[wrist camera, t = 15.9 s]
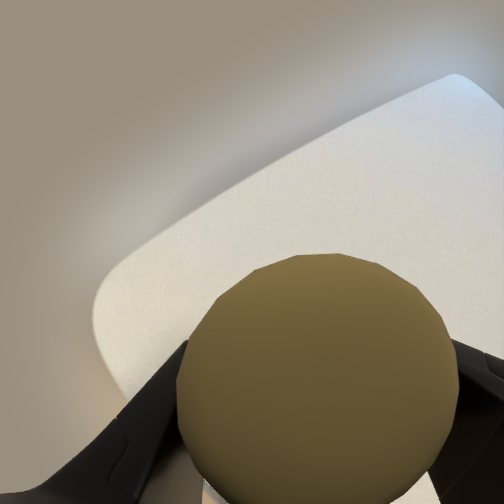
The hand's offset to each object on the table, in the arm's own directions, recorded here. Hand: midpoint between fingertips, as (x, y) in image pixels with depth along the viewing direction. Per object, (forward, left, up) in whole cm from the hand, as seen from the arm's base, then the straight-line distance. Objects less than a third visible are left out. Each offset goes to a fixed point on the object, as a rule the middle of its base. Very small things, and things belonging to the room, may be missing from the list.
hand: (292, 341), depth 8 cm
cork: (-1, -1, -7) cm, 7 cm away
